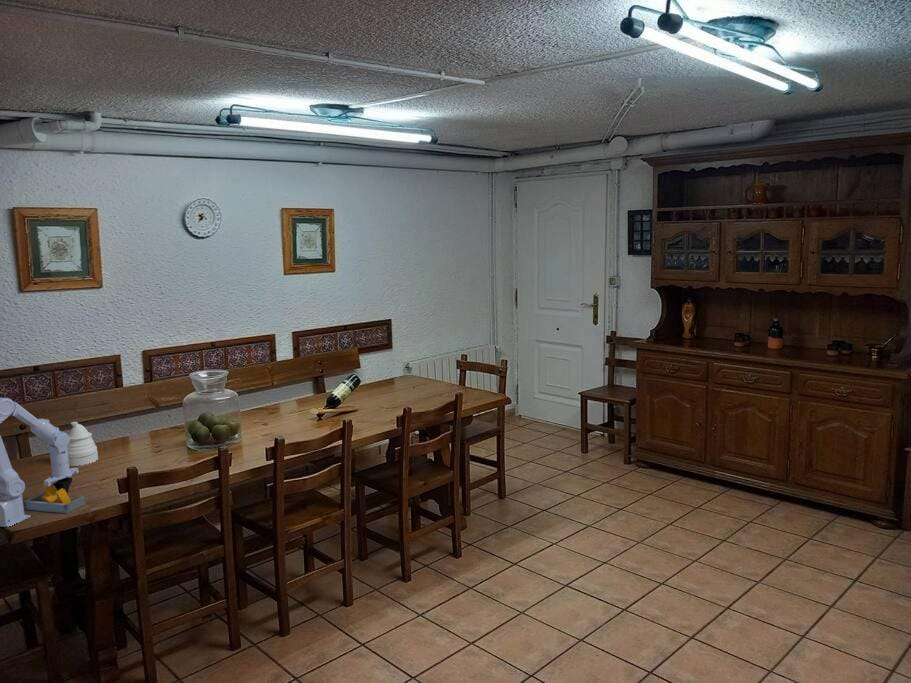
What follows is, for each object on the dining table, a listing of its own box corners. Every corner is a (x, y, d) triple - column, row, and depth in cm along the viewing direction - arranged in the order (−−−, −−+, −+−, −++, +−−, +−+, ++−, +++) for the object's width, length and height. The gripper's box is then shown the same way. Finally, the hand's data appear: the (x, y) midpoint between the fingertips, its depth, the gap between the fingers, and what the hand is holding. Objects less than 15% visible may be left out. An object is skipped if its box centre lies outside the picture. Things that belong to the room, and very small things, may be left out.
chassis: (67, 513, 249) (66, 505, 249) (24, 509, 253) (23, 501, 253) (85, 503, 258) (84, 496, 257) (43, 500, 262) (42, 492, 261)
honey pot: (84, 466, 299) (79, 425, 296) (58, 465, 301) (53, 424, 298) (104, 457, 311) (100, 417, 308) (79, 455, 314) (75, 416, 311)
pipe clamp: (45, 503, 258) (37, 489, 256) (56, 496, 261) (48, 482, 259) (61, 510, 251) (53, 496, 249) (72, 503, 254) (64, 489, 252)
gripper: (53, 470, 249) (58, 506, 252) (83, 457, 263) (87, 491, 266) (37, 468, 251) (41, 504, 253) (67, 455, 265) (71, 490, 267)
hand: (64, 497), depth 259 cm, fingers closed
